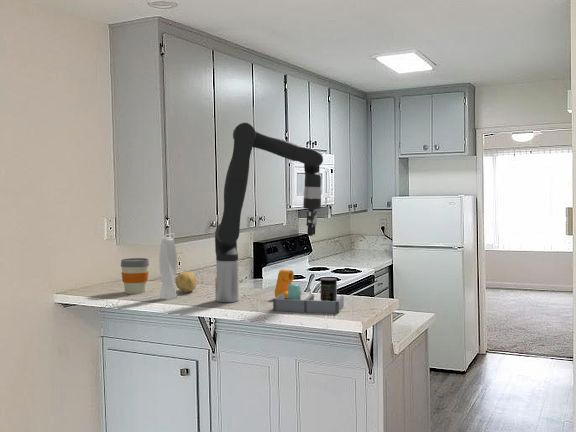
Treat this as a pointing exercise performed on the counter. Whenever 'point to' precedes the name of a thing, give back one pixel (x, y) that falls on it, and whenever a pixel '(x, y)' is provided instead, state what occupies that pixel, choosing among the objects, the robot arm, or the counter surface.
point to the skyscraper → (168, 267)
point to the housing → (305, 302)
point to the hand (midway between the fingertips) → (311, 235)
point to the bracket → (283, 282)
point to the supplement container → (328, 289)
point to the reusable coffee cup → (134, 275)
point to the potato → (186, 281)
